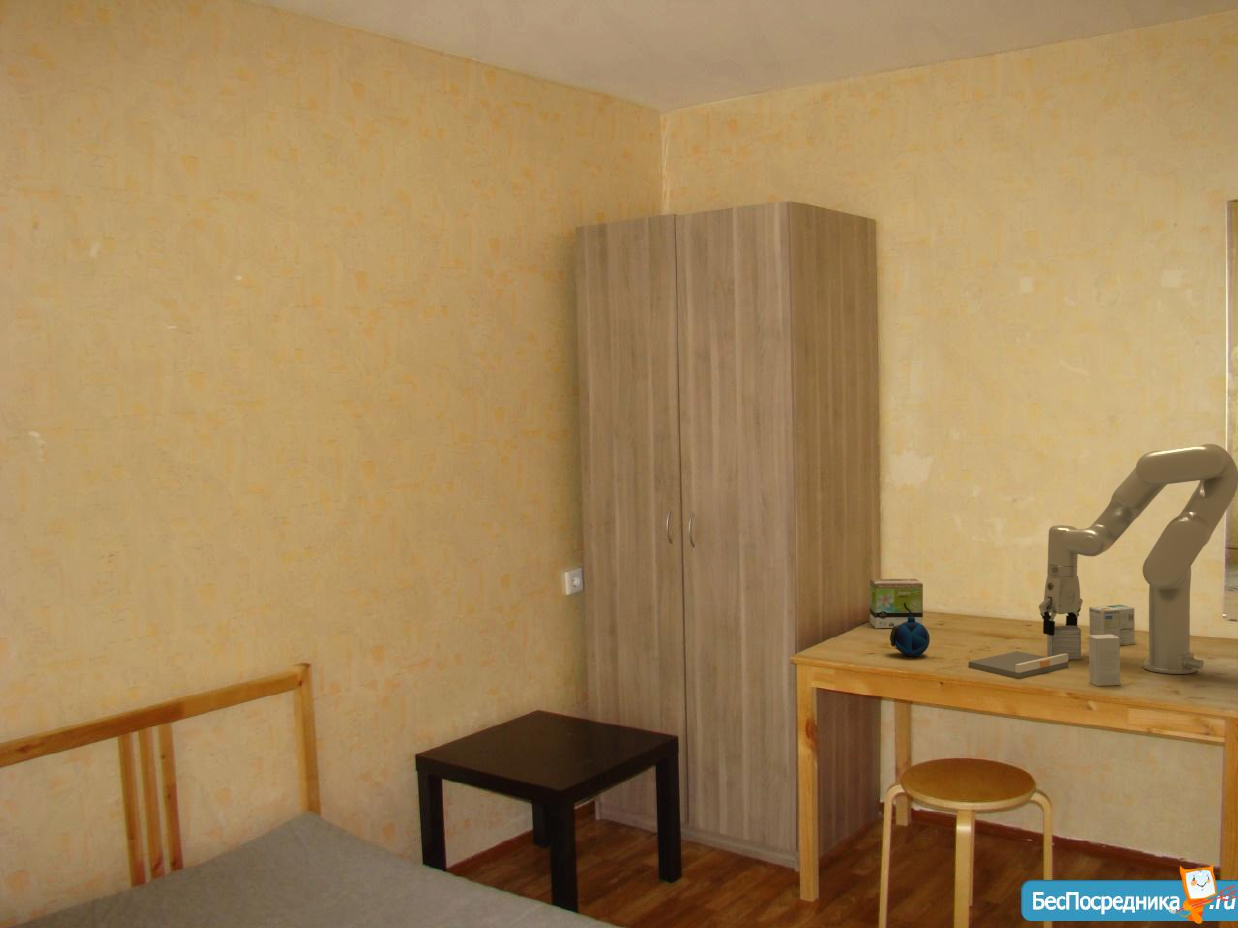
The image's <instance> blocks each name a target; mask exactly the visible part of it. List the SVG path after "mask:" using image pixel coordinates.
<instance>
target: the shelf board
mask: <svg viewBox="0 0 1238 928" xmlns="http://www.w3.org/2000/svg"><path fill="white" fill-rule="evenodd" d="M968 668H969V669H970V668H972V669H975V670H980V671H983V672H988V673H992V674H996V675H997V674H998V675H1001V676H1006V677H1011V678H1013V679H1014V678H1015V679H1018V678H1020V679H1024V678H1028V677H1033V676H1035V675H1036V676H1037V675H1040V674H1044V673H1048V672H1054V671H1058V670H1062V669H1066V668H1069V660H1068V654H1060V655H1056V656H1051V657H1048V656H1044V655H1038V654H1033V653H1029V652H1023V651H1013V652H1012V651H1011V652H1007V653H1003V654H998V655H994V656H989V657H983V658H980V659H976V660H975V659H974V660H971V661H968Z"/></svg>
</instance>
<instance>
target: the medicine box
mask: <svg viewBox="0 0 1238 928" xmlns="http://www.w3.org/2000/svg"><path fill="white" fill-rule="evenodd" d="M1046 644H1047V645H1046V646H1047V647H1046V648H1047V650H1046V651H1047V653H1046V654H1047V656H1046V657H1051V656H1056V655H1060V654H1068V661H1069V660H1071V661H1072V660H1079V661H1080V660H1082V629H1081V628H1080V627H1078V625H1077V626H1066V625H1055V634H1054V636H1051V635H1047V634H1046Z"/></svg>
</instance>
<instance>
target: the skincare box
mask: <svg viewBox="0 0 1238 928" xmlns="http://www.w3.org/2000/svg"><path fill="white" fill-rule="evenodd" d="M1120 646H1121V645H1120V638H1119V637H1117V636H1114V635H1112V634H1109V635H1090V634H1089V635H1088V654H1089V656H1088V658H1089V660H1088V661H1089V662H1088V663H1089V665H1088V666H1089V667H1088V668H1089V683H1090V682H1091V683H1090V684H1093V685H1094V686H1096V687H1105V686H1107V687H1108V686H1109V687H1110V686H1120V685H1121V650H1120V648H1121V647H1120Z"/></svg>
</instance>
